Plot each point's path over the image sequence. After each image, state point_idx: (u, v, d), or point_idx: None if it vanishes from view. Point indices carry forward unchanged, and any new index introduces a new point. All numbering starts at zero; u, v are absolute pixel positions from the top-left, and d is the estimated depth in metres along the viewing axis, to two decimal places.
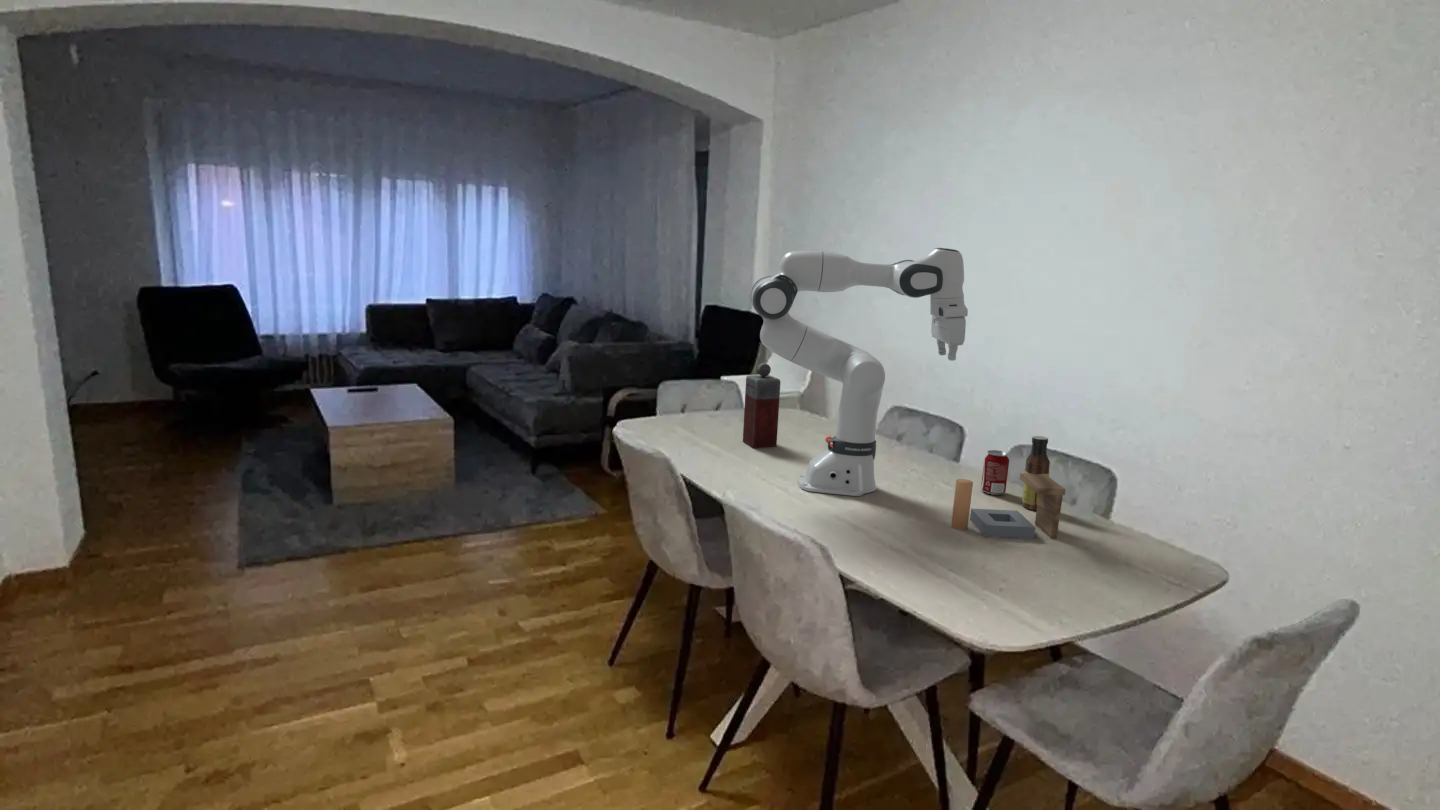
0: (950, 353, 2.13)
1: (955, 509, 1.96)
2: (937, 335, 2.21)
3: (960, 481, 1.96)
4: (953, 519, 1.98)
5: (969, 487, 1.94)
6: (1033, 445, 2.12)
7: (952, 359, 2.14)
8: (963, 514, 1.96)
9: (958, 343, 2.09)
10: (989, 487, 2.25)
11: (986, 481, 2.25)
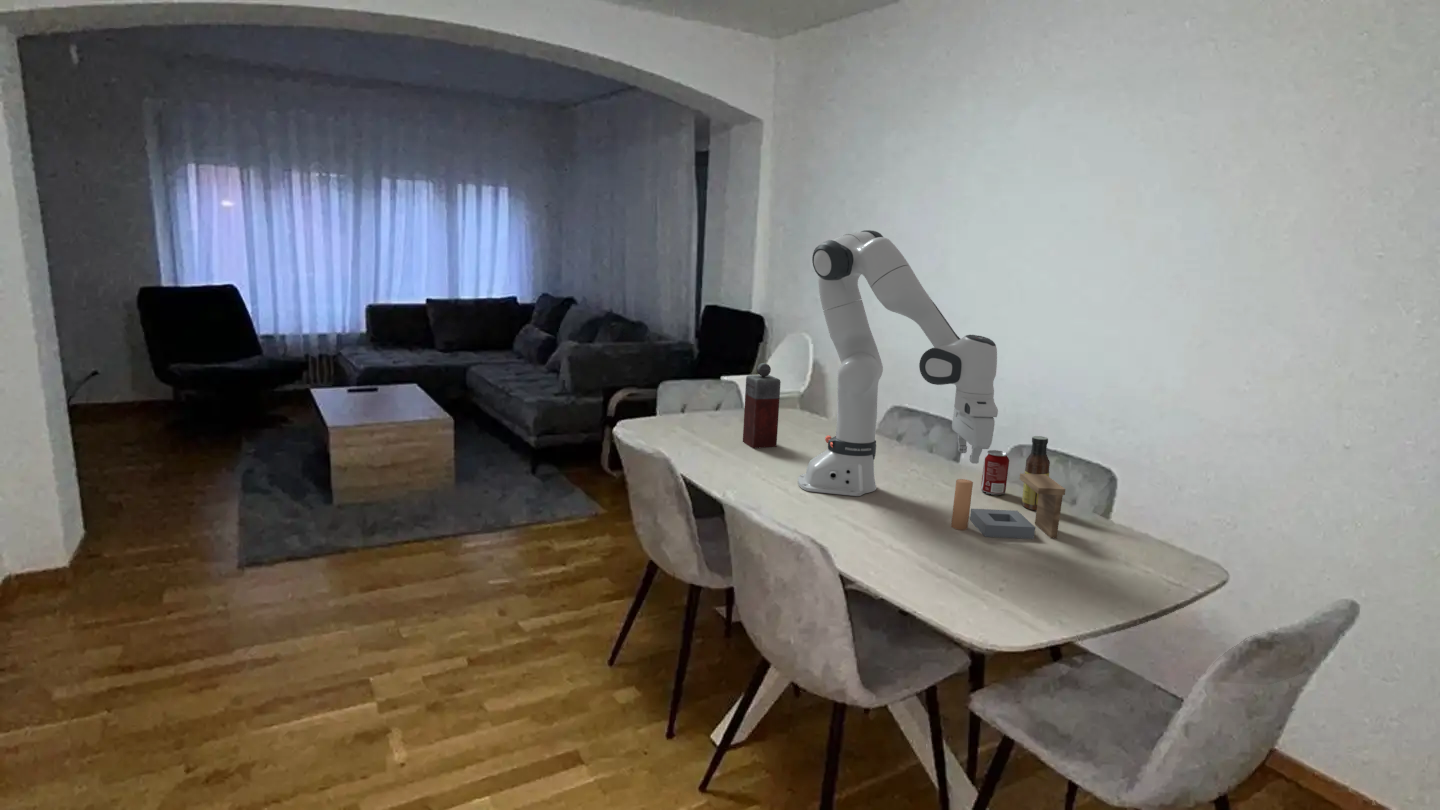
0: (973, 455, 1.89)
1: (955, 509, 1.96)
2: (959, 431, 1.96)
3: (960, 481, 1.96)
4: (953, 519, 1.98)
5: (969, 487, 1.94)
6: (1033, 445, 2.12)
7: (974, 462, 1.89)
8: (963, 514, 1.96)
9: (984, 447, 1.84)
10: (989, 487, 2.25)
11: (986, 481, 2.25)
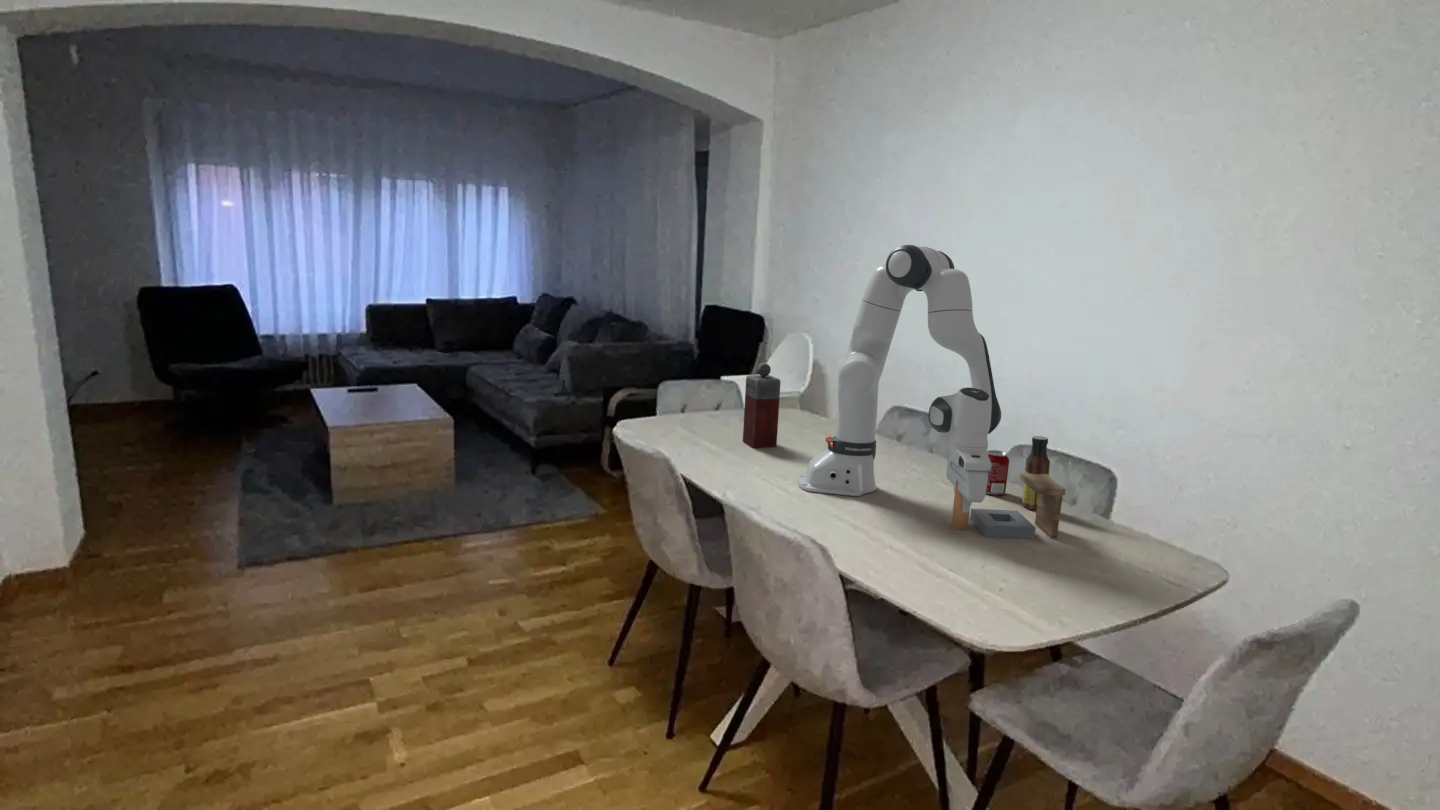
0: (964, 504, 1.94)
1: (955, 509, 1.96)
2: (953, 481, 1.99)
3: None
4: (953, 519, 1.97)
5: None
6: (1033, 445, 2.12)
7: (965, 511, 1.94)
8: (963, 514, 1.96)
9: (977, 500, 1.87)
10: (989, 487, 2.25)
11: None
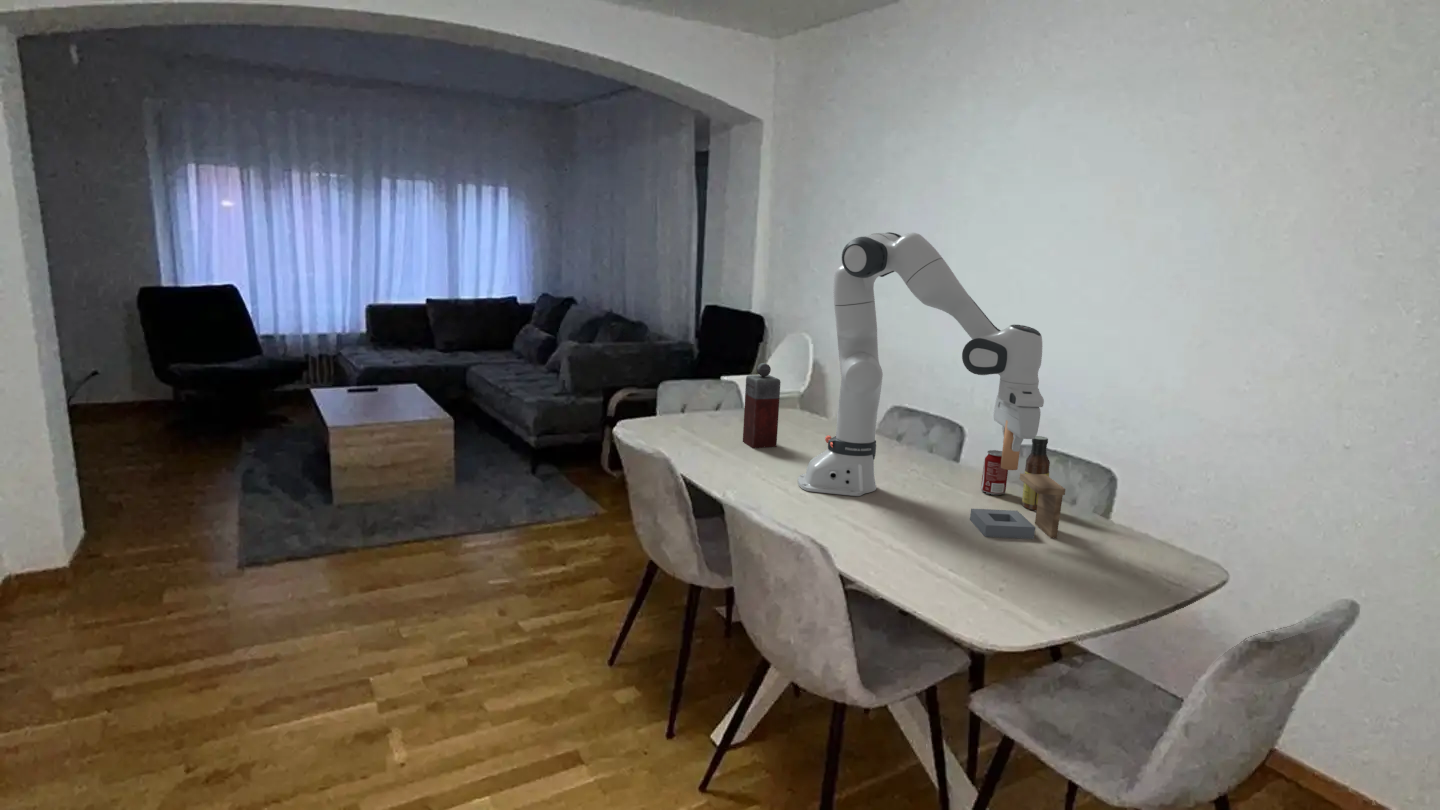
0: (1014, 443, 1.90)
1: (1005, 449, 1.93)
2: (1002, 421, 1.96)
3: None
4: (1003, 459, 1.94)
5: None
6: (1033, 445, 2.12)
7: (1016, 450, 1.91)
8: (1013, 454, 1.92)
9: (1029, 437, 1.83)
10: (989, 487, 2.25)
11: (986, 481, 2.25)
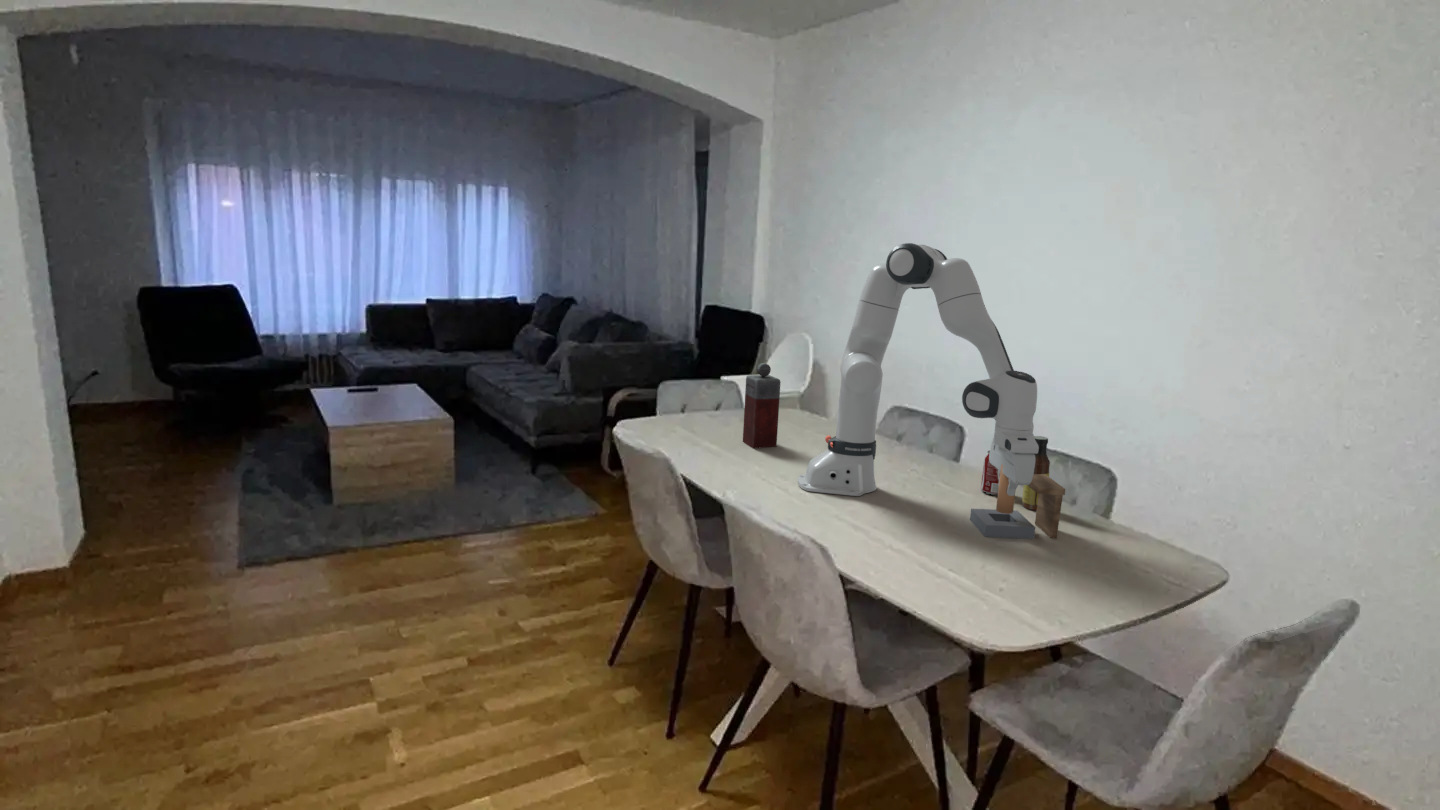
0: (1010, 488, 1.93)
1: (1001, 493, 1.96)
2: (997, 465, 1.98)
3: None
4: (998, 503, 1.97)
5: None
6: None
7: (1011, 494, 1.93)
8: (1009, 498, 1.95)
9: (1025, 483, 1.86)
10: (989, 487, 2.25)
11: (986, 481, 2.25)
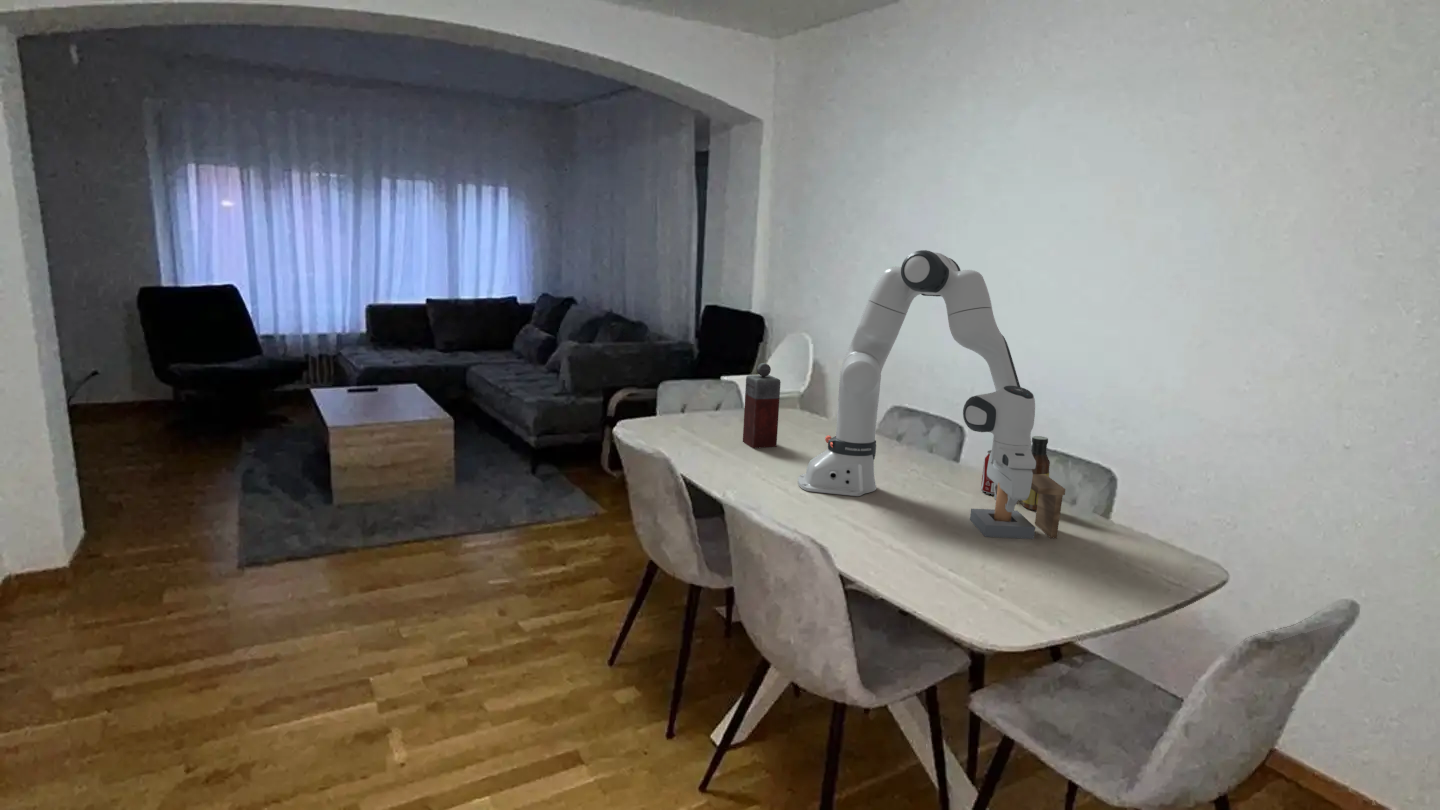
0: (1009, 504, 1.92)
1: (998, 510, 1.97)
2: (995, 479, 1.99)
3: None
4: None
5: None
6: (1033, 445, 2.12)
7: (1010, 511, 1.93)
8: (1005, 516, 1.96)
9: (1022, 498, 1.87)
10: (989, 487, 2.25)
11: (986, 481, 2.25)
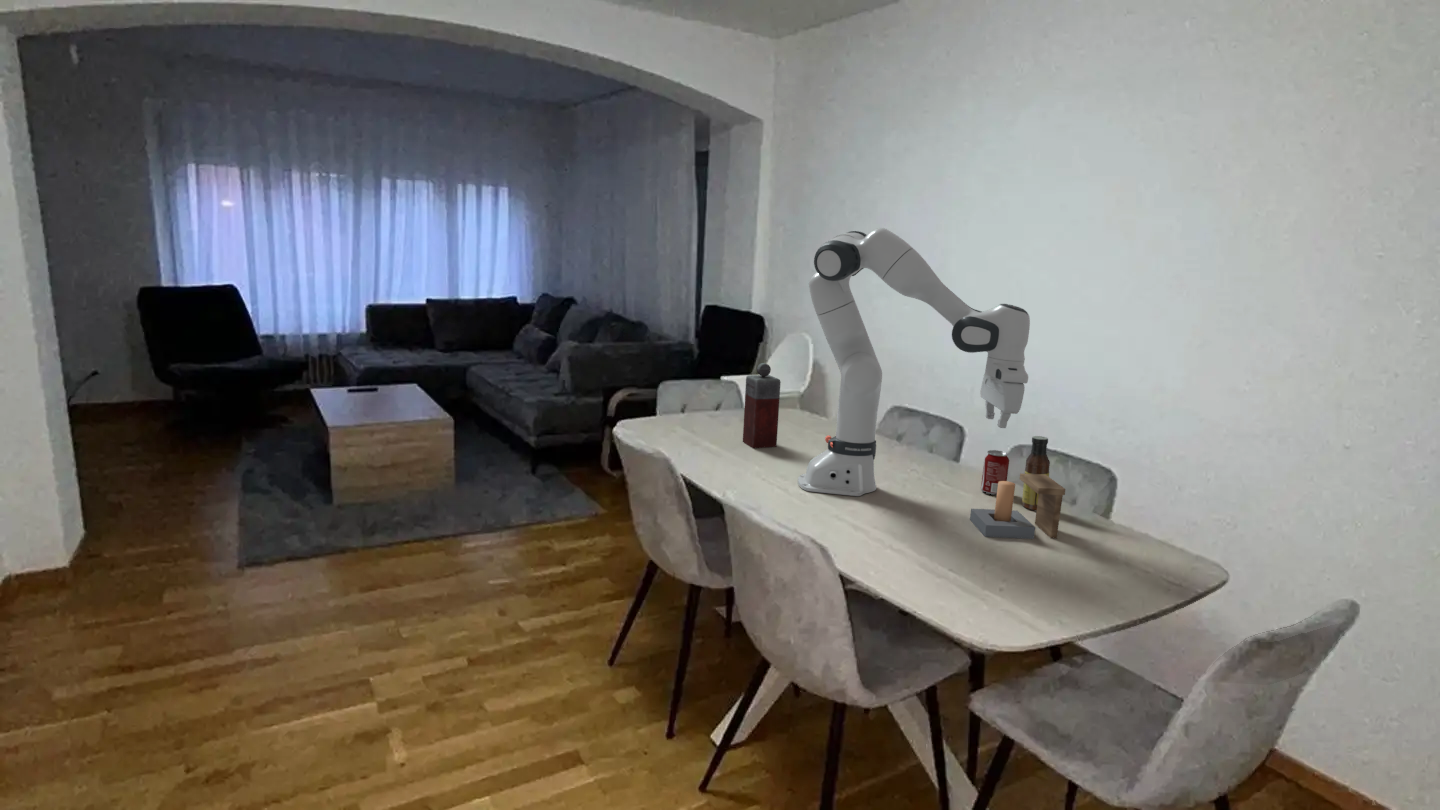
0: (1001, 420, 1.95)
1: (998, 511, 1.97)
2: (988, 397, 2.03)
3: (1002, 483, 1.96)
4: None
5: (1011, 489, 1.95)
6: (1033, 445, 2.12)
7: (1002, 426, 1.96)
8: (1005, 516, 1.96)
9: (1013, 411, 1.90)
10: (989, 487, 2.25)
11: (986, 481, 2.25)
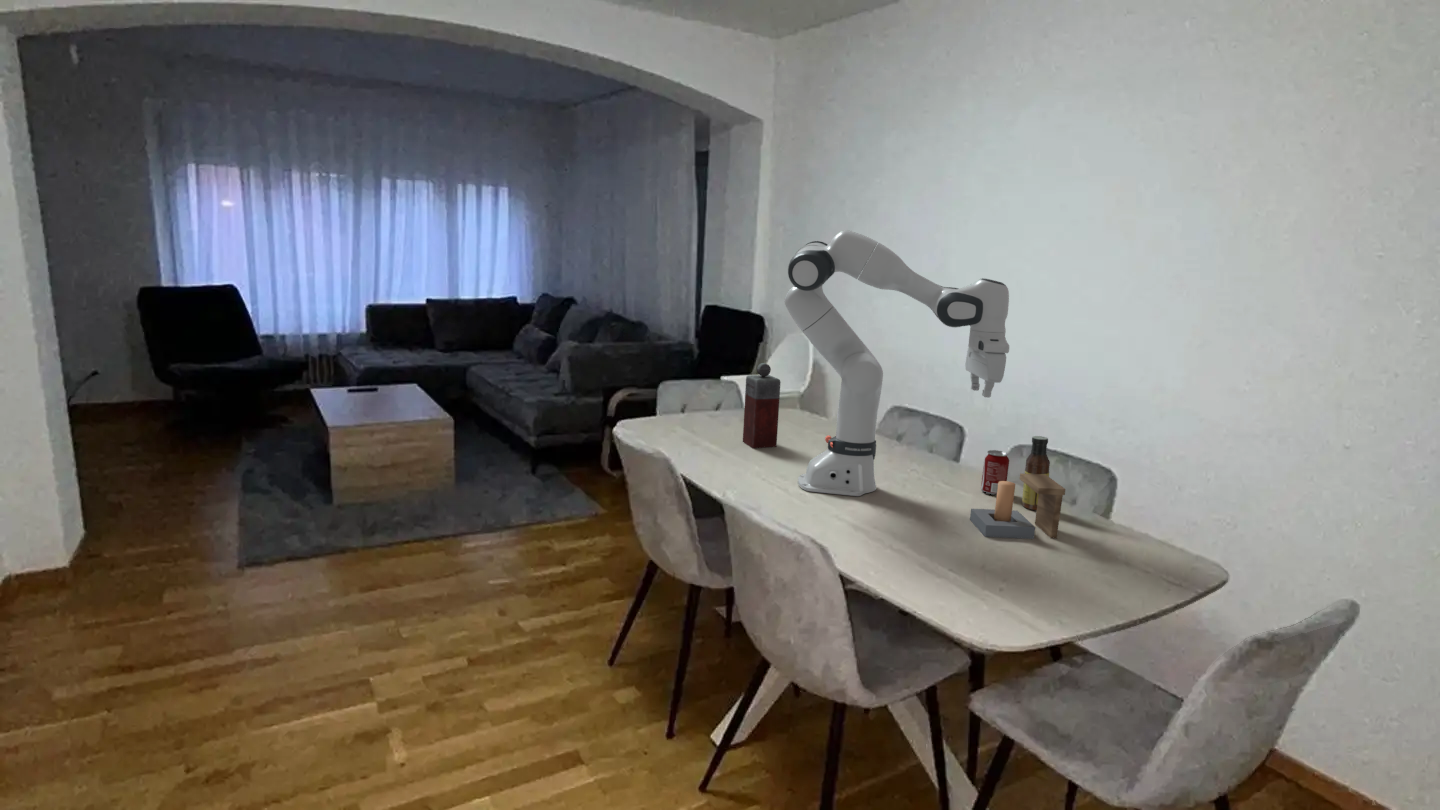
0: (985, 389, 2.04)
1: (998, 511, 1.97)
2: (972, 369, 2.11)
3: (1002, 483, 1.96)
4: None
5: (1011, 489, 1.95)
6: (1033, 445, 2.12)
7: (987, 396, 2.04)
8: (1005, 516, 1.96)
9: (996, 380, 1.99)
10: (989, 487, 2.25)
11: (986, 481, 2.25)
